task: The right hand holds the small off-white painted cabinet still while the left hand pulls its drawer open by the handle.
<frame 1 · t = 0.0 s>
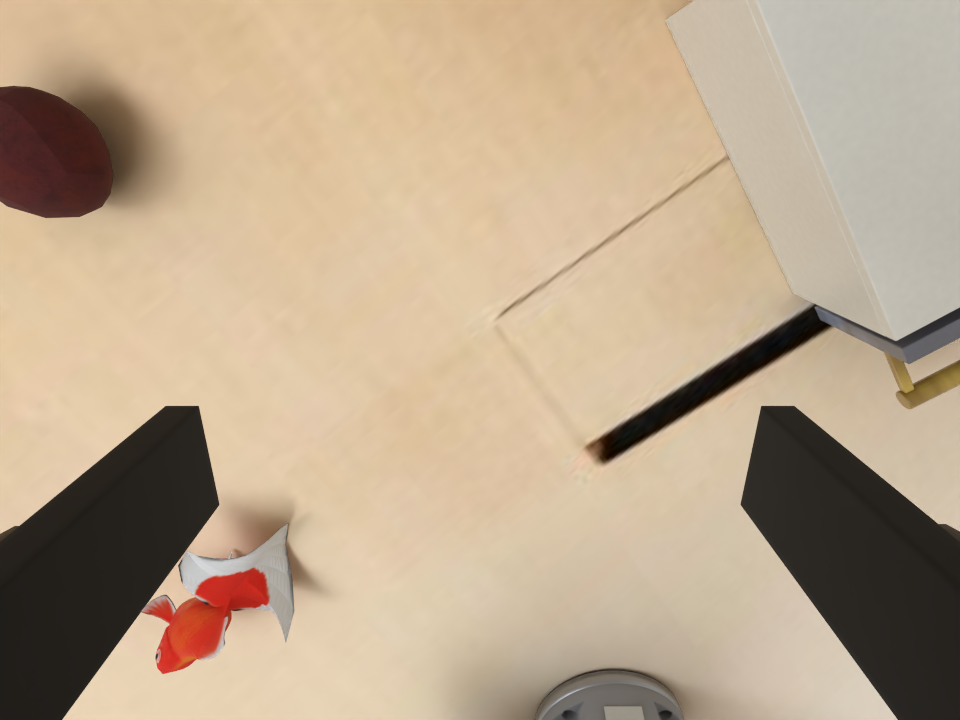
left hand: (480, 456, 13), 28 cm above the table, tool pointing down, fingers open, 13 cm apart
drawer: (889, 209, 33), point 5 cm above the table, slide at 1.3 cm
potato: (82, 156, 37), on the table
cabinet: (804, 124, 36), on the table
fish: (241, 561, 49), on the table
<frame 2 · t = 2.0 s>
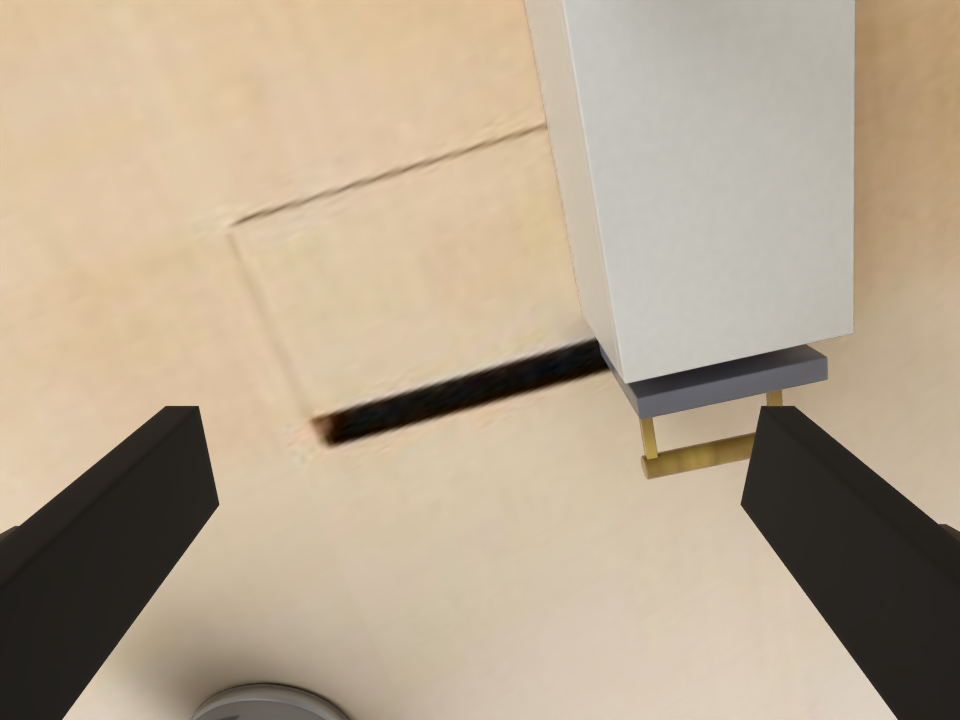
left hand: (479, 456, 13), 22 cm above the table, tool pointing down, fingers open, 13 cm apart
drawer: (683, 238, 27), point 5 cm above the table, slide at 1.3 cm
cabinet: (638, 119, 30), on the table
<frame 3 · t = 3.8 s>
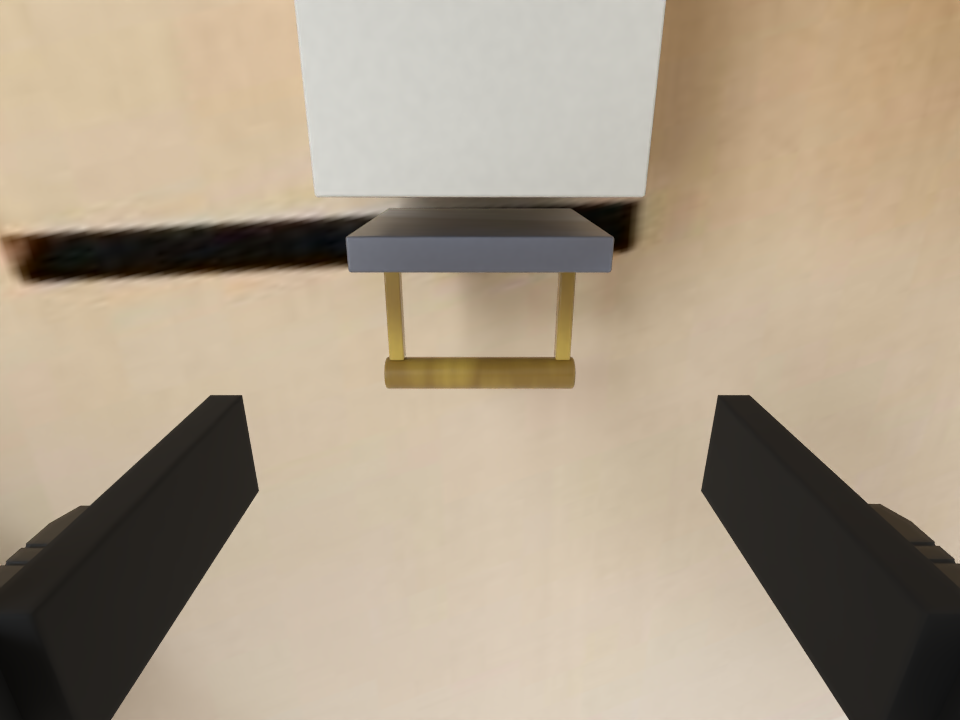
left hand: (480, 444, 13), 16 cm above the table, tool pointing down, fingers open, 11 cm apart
drawer: (480, 52, 20), point 5 cm above the table, slide at 1.3 cm
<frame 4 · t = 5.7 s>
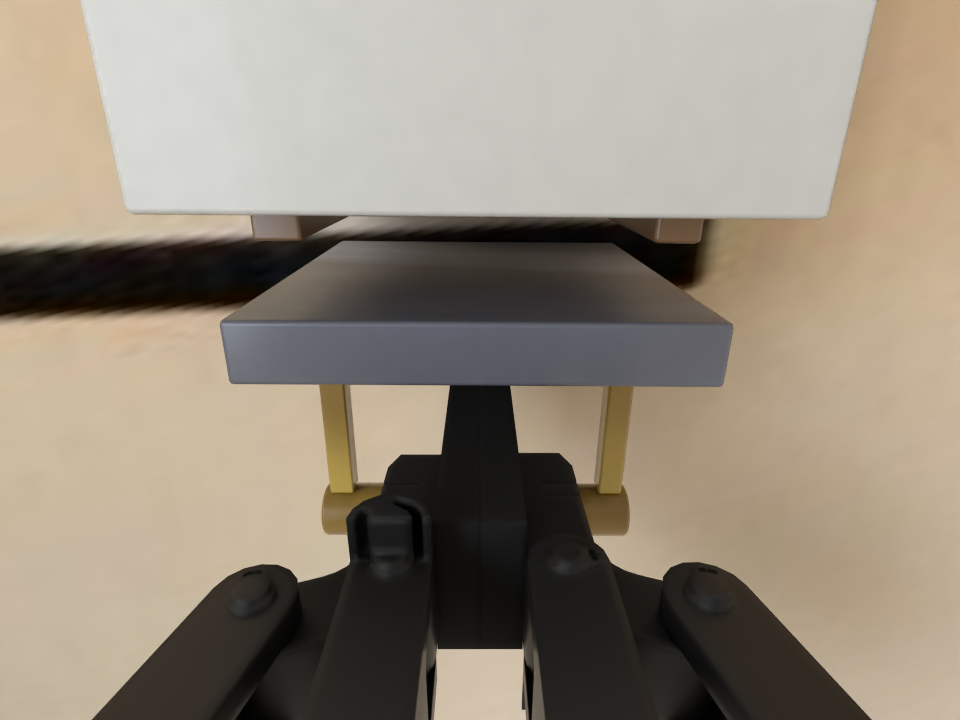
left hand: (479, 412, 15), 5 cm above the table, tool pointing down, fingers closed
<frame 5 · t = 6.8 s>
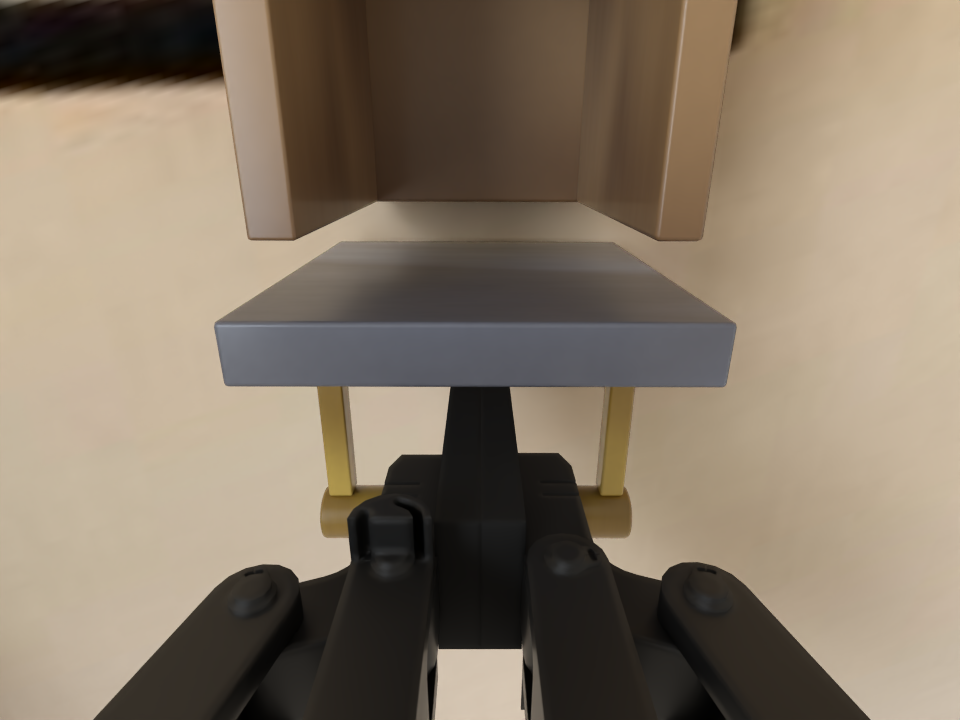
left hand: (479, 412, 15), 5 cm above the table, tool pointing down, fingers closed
when the right hand's fingers open (6 cm above the table, at t = 8.5 s): cabinet stays where it is, on the table.
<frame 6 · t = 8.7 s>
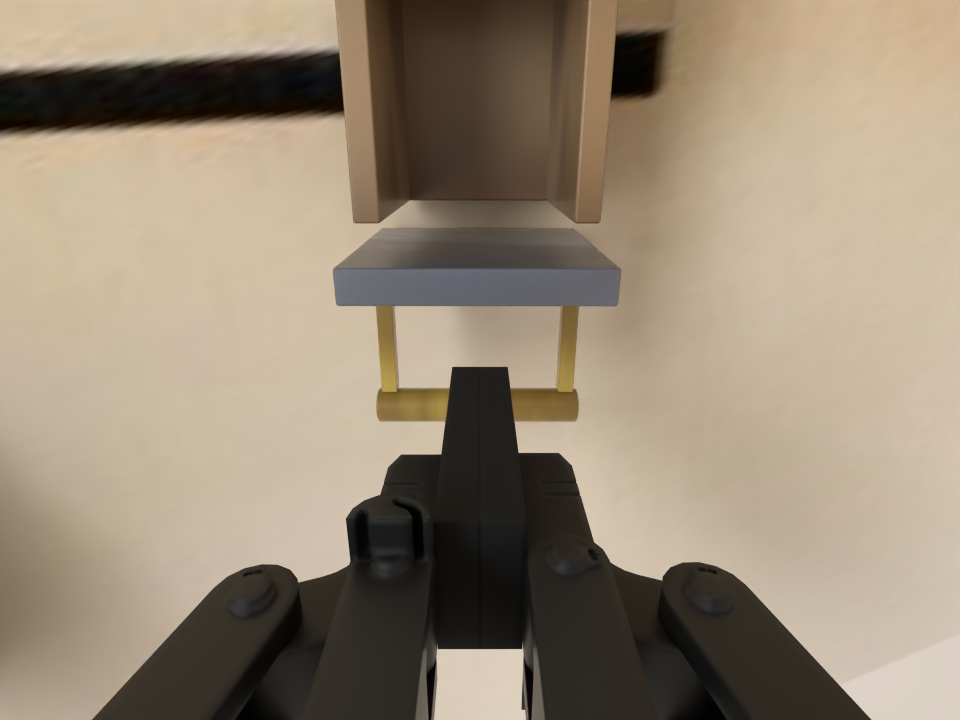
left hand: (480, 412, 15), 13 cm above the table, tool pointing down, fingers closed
drawer: (477, 68, 18), point 5 cm above the table, slide at 8.9 cm
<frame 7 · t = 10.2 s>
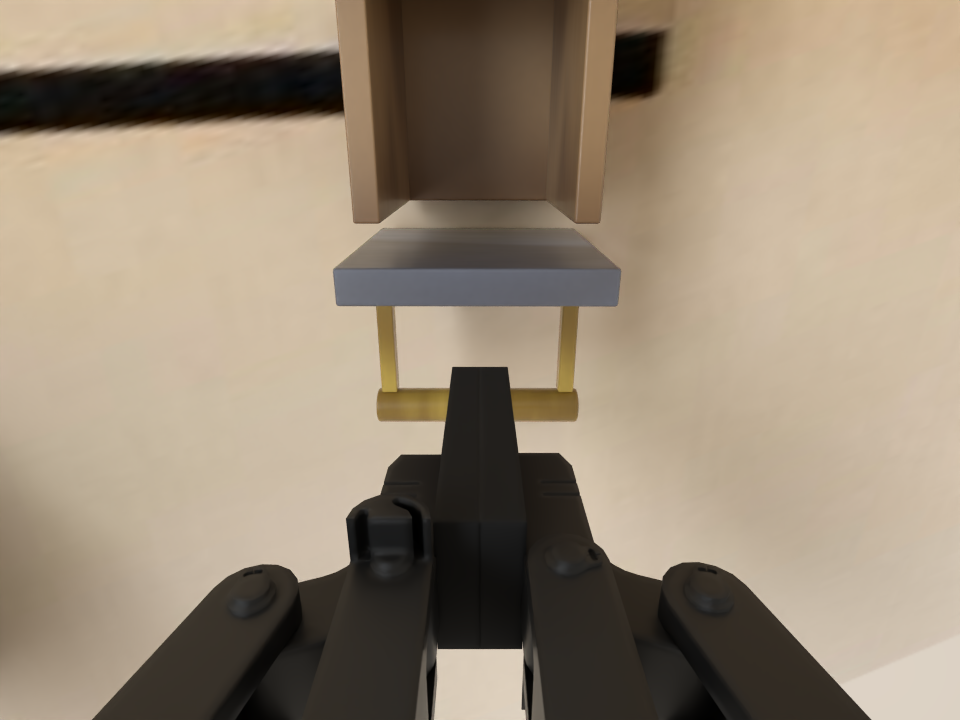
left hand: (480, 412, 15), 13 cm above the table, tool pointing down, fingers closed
drawer: (477, 69, 18), point 5 cm above the table, slide at 8.9 cm
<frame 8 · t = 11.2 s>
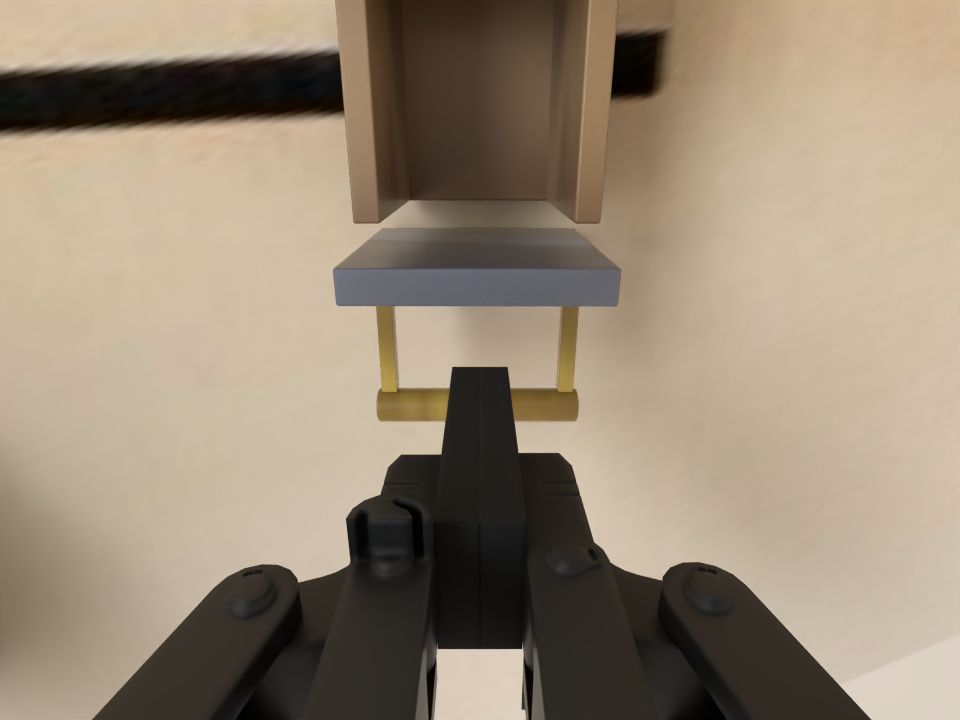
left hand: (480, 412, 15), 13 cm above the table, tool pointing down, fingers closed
drawer: (477, 68, 18), point 5 cm above the table, slide at 8.9 cm
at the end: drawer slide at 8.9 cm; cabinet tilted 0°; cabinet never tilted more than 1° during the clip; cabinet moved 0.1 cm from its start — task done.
